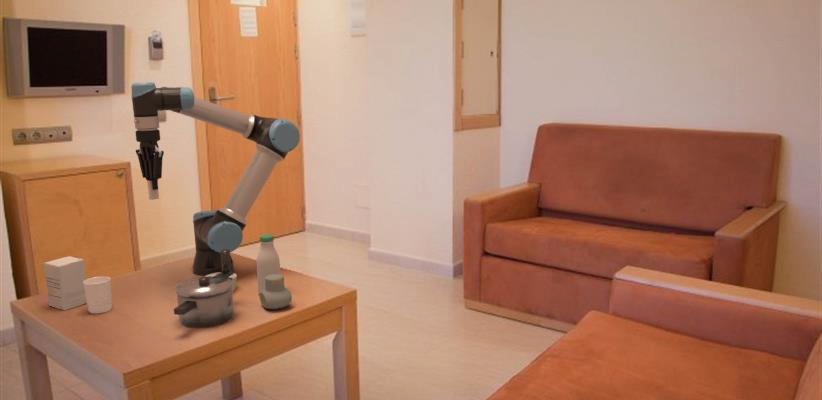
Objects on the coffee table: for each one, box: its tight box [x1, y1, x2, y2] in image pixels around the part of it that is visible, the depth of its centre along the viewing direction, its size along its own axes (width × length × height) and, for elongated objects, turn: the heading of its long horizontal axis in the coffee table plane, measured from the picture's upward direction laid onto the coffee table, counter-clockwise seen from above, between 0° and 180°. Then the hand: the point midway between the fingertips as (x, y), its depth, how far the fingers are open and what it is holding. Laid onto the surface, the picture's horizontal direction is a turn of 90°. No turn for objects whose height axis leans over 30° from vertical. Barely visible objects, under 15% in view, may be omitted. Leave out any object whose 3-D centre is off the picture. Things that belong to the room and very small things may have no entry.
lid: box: [175, 249, 235, 298], centre depth 202 cm, size 24×17×8 cm
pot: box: [173, 277, 235, 329], centre depth 200 cm, size 30×16×9 cm, turn 168°
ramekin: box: [204, 272, 238, 292], centre depth 226 cm, size 11×11×5 cm
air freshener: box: [259, 273, 293, 310], centre depth 209 cm, size 11×8×10 cm
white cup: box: [83, 276, 113, 314], centre depth 209 cm, size 8×8×10 cm
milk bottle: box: [256, 234, 282, 295], centre depth 221 cm, size 8×8×20 cm
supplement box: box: [42, 255, 88, 311], centre depth 214 cm, size 9×9×15 cm
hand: (154, 198), depth 222 cm, fingers closed
